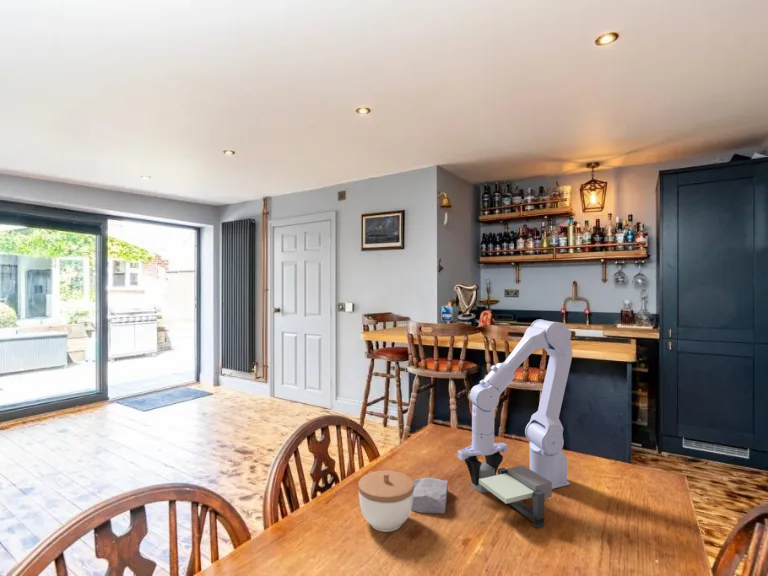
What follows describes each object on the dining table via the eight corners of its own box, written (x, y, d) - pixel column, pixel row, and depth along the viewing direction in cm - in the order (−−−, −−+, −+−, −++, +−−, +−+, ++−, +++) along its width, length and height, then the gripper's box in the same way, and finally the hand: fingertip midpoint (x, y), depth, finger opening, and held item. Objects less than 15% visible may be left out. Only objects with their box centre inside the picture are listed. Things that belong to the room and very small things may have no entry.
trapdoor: (521, 478, 105) (521, 464, 105) (553, 497, 95) (553, 483, 95) (478, 487, 100) (478, 473, 100) (506, 509, 90) (506, 494, 90)
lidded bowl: (425, 522, 93) (425, 474, 93) (386, 547, 84) (386, 494, 84) (385, 501, 102) (385, 457, 102) (346, 522, 93) (346, 474, 93)
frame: (503, 496, 105) (504, 467, 105) (544, 526, 92) (544, 493, 92) (497, 498, 104) (497, 468, 104) (537, 528, 91) (537, 494, 91)
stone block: (407, 519, 98) (448, 515, 96) (403, 499, 98) (444, 494, 97) (413, 496, 110) (450, 492, 108) (410, 477, 110) (447, 473, 108)
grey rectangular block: (484, 482, 112) (484, 462, 112) (494, 489, 108) (494, 468, 108) (471, 485, 111) (471, 464, 111) (480, 492, 107) (480, 471, 107)
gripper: (495, 422, 116) (495, 471, 116) (451, 429, 110) (451, 480, 110) (512, 431, 109) (512, 482, 109) (466, 439, 104) (466, 492, 104)
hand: (482, 482), depth 110 cm, fingers closed on grey rectangular block, 4 cm apart
